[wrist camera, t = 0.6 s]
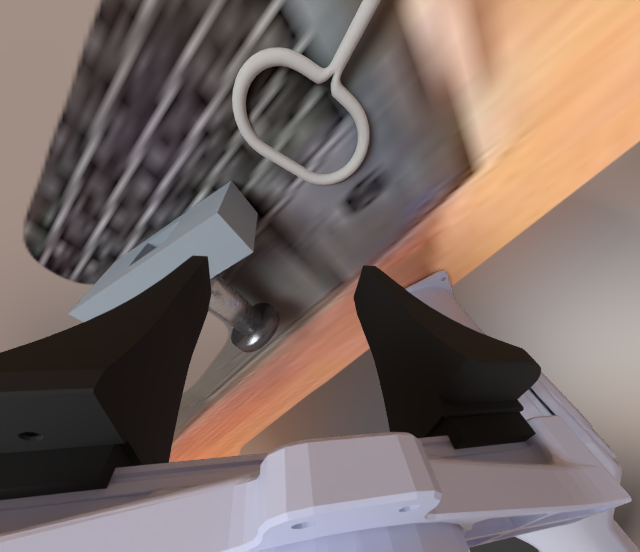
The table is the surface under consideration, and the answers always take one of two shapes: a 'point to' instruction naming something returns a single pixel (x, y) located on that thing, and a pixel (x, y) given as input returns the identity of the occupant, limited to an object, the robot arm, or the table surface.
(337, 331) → the table surface
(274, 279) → the table surface
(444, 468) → the robot arm
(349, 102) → the hook
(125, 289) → the hitch block
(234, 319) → the pin
